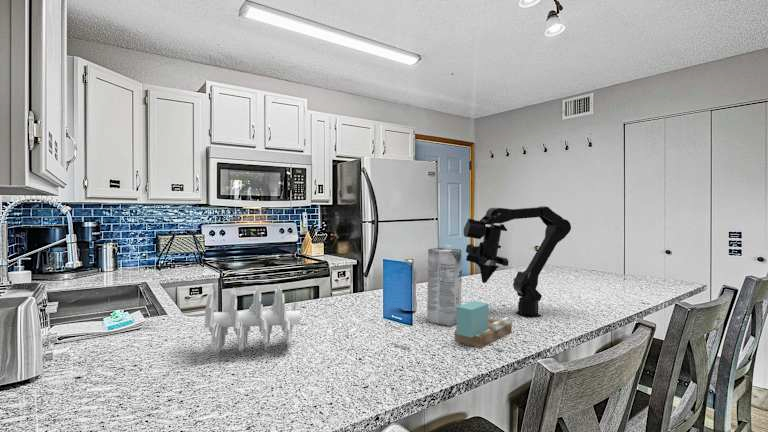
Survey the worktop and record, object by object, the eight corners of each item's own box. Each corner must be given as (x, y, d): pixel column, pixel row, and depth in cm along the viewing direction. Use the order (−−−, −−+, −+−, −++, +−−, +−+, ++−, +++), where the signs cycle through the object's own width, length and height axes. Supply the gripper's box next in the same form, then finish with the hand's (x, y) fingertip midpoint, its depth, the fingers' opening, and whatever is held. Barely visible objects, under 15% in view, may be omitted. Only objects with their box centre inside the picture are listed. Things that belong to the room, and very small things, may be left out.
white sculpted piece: (298, 364, 111) (200, 370, 103) (294, 321, 126) (209, 323, 118) (304, 313, 103) (199, 315, 96) (300, 273, 118) (209, 272, 111)
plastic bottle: (397, 312, 150) (397, 259, 150) (404, 308, 156) (405, 257, 156) (412, 314, 147) (413, 261, 147) (419, 310, 153) (420, 259, 153)
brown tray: (486, 326, 135) (487, 311, 134) (511, 332, 129) (511, 316, 128) (454, 340, 120) (454, 324, 120) (480, 348, 114) (481, 330, 114)
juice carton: (451, 328, 132) (452, 247, 131) (424, 322, 138) (425, 244, 138) (463, 322, 139) (464, 245, 138) (437, 316, 146) (438, 243, 145)
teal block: (473, 326, 124) (474, 300, 124) (488, 329, 121) (488, 303, 121) (456, 333, 117) (456, 306, 117) (471, 337, 114) (471, 309, 113)
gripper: (487, 239, 159) (481, 278, 159) (458, 235, 147) (451, 277, 147) (512, 244, 150) (505, 285, 151) (483, 240, 138) (475, 284, 139)
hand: (483, 282), depth 147 cm, fingers closed
